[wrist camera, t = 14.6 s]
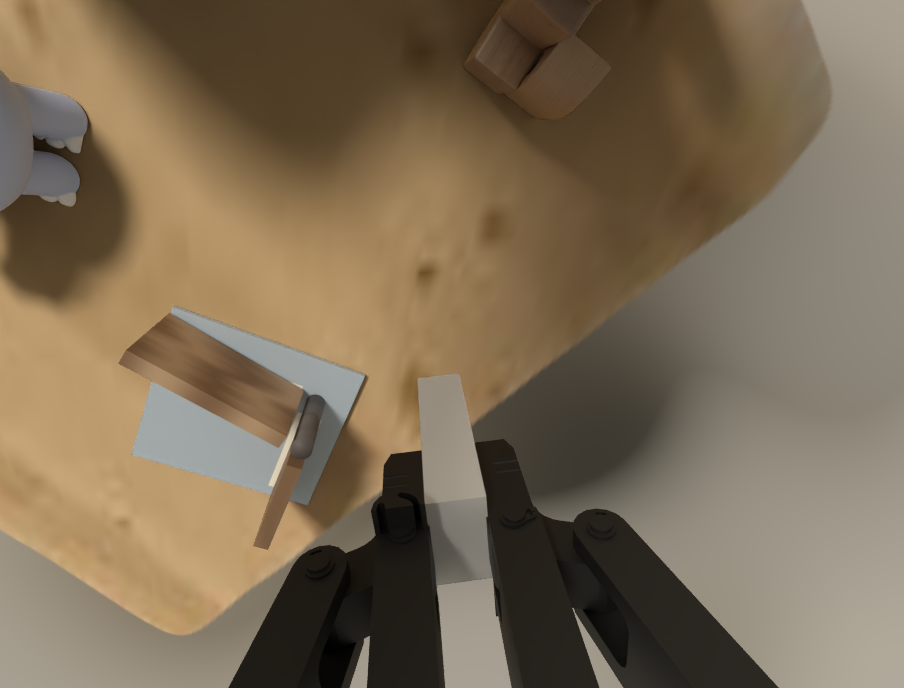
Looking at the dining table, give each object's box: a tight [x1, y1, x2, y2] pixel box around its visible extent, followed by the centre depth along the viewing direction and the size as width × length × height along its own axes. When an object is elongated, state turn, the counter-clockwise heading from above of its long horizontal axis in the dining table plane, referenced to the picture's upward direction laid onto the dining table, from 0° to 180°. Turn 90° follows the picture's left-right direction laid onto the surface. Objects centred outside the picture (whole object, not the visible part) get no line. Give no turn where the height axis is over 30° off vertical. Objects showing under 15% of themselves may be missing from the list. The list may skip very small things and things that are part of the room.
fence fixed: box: [253, 394, 325, 550], centre depth 44 cm, size 2×11×8 cm, turn 155°
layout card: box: [132, 306, 365, 505], centre depth 46 cm, size 16×15×1 cm
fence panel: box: [119, 313, 304, 448], centre depth 40 cm, size 12×1×7 cm, turn 52°
